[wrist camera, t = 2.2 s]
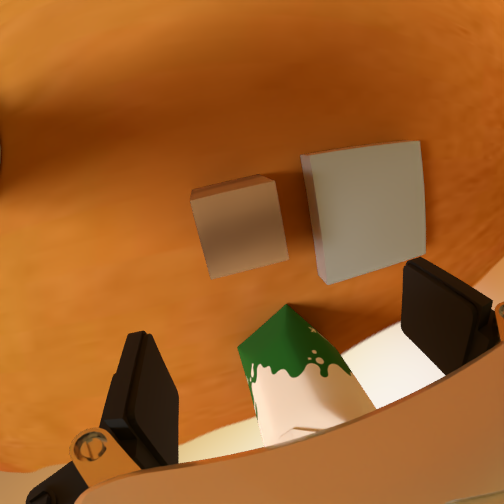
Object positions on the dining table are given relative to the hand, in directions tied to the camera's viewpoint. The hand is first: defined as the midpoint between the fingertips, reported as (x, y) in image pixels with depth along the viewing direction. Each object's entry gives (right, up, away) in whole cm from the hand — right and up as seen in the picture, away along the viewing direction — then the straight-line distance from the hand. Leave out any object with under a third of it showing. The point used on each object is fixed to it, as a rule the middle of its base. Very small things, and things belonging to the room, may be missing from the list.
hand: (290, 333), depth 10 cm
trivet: (+10, +7, +19) cm, 23 cm away
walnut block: (-3, +6, +17) cm, 19 cm away
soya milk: (+2, -7, +23) cm, 24 cm away
